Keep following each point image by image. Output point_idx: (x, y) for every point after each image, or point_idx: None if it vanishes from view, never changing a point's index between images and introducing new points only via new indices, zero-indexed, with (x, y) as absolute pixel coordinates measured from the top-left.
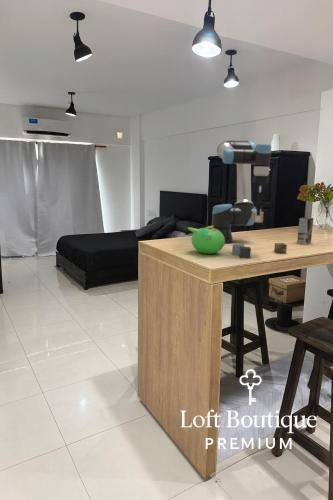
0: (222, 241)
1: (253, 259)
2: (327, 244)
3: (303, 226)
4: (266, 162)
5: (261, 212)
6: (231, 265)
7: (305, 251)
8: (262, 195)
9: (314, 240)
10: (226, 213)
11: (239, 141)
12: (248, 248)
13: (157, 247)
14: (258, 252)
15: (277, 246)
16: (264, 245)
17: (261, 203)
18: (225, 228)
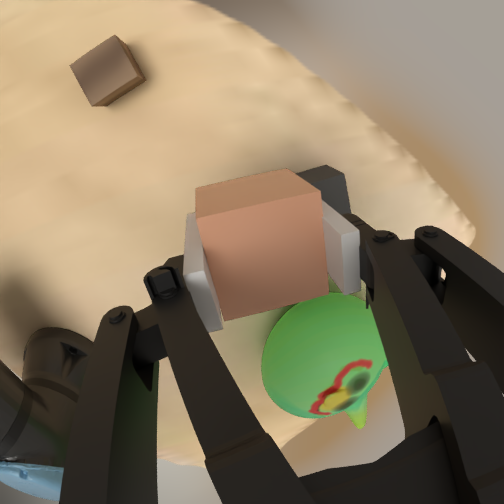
0: (354, 304)
1: (337, 148)
2: None
3: None
4: None
5: (269, 225)
6: (440, 199)
7: (31, 4)
8: (475, 362)
9: None
10: (53, 449)
11: None
12: (339, 186)
13: (294, 432)
14: (173, 164)
15: (138, 77)
16: (2, 198)
17: (471, 250)
18: (68, 391)
